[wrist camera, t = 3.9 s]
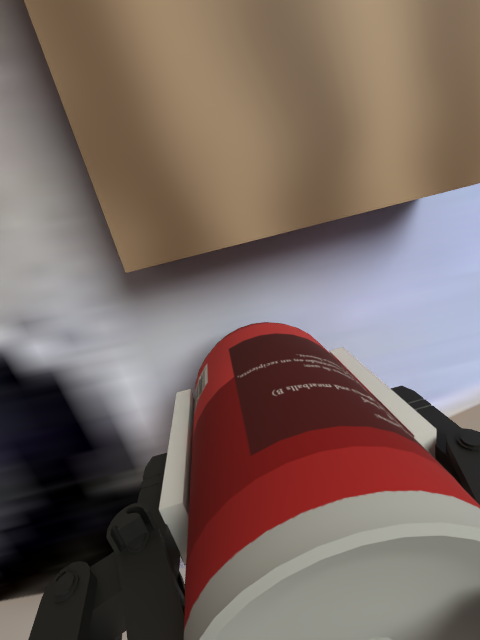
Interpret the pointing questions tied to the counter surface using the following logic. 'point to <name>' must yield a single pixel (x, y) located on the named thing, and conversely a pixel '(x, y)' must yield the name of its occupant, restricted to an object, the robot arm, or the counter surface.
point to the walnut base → (261, 111)
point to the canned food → (318, 506)
